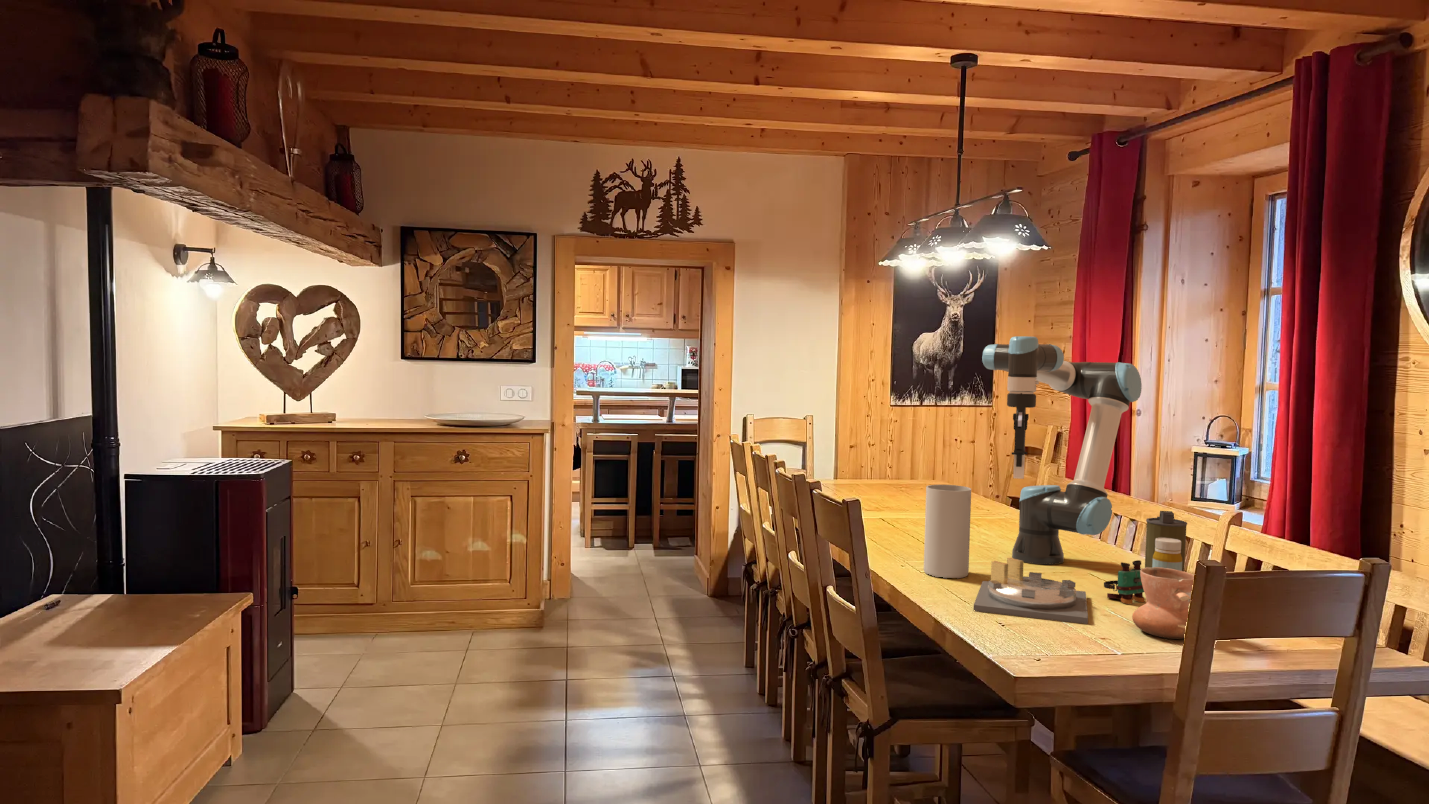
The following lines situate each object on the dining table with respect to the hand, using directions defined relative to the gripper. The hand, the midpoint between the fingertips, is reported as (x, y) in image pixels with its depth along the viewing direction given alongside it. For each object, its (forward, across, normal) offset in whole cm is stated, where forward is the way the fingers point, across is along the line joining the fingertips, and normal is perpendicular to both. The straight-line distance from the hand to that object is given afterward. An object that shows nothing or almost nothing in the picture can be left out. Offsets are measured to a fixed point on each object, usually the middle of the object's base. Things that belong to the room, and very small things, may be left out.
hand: (1018, 478), depth 248 cm
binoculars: (+30, -5, -27) cm, 40 cm away
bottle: (+30, +4, -38) cm, 48 cm away
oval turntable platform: (+28, -20, -5) cm, 35 cm away
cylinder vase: (+30, +3, +19) cm, 35 cm away
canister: (+30, +21, -39) cm, 53 cm away
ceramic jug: (+30, -33, -34) cm, 56 cm away
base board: (+29, -20, -5) cm, 36 cm away
